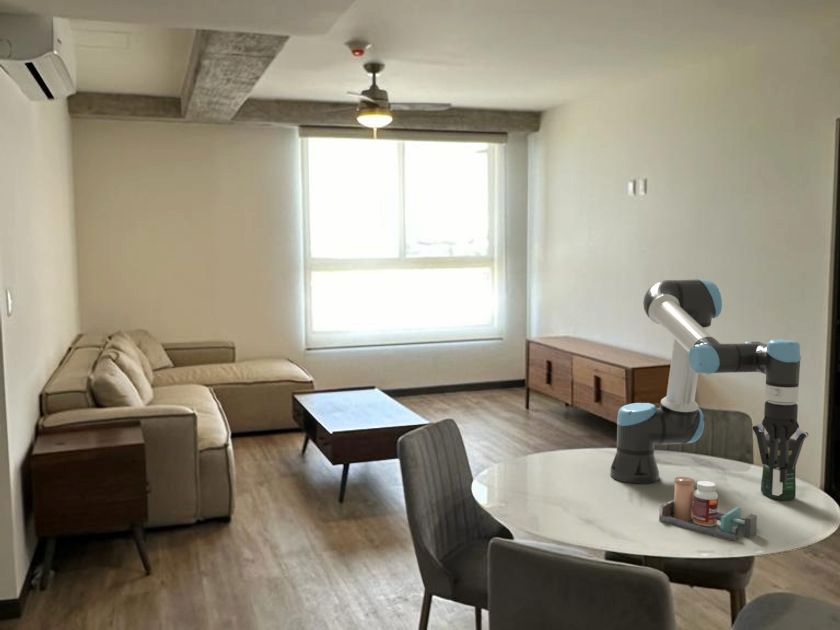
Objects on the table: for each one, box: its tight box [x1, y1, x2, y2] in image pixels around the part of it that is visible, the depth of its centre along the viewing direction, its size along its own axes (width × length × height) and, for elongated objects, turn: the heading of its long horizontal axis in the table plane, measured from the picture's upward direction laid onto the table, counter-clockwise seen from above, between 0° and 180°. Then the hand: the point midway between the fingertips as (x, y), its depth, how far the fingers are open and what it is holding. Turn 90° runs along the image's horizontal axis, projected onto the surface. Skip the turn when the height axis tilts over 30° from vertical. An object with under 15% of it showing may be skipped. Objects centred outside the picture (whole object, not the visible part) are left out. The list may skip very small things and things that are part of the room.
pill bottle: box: [692, 480, 719, 528], centre depth 210 cm, size 6×6×11 cm
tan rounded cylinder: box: [673, 476, 695, 522], centre depth 214 cm, size 5×5×11 cm
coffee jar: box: [760, 433, 797, 501], centre depth 232 cm, size 10×8×19 cm
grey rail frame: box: [658, 498, 746, 542], centre depth 210 cm, size 20×14×4 cm, turn 46°
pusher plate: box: [719, 506, 758, 539], centre depth 203 cm, size 6×11×5 cm, turn 136°
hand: (777, 493), depth 196 cm, fingers closed
